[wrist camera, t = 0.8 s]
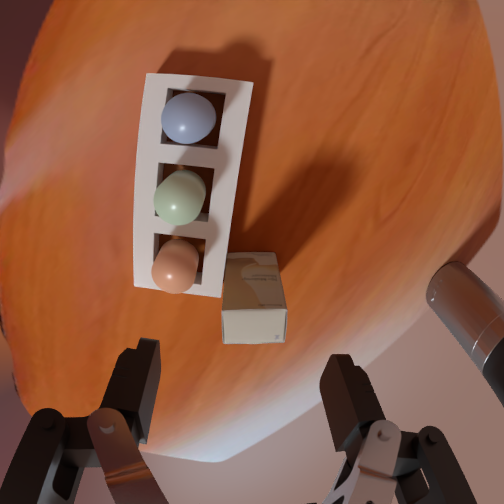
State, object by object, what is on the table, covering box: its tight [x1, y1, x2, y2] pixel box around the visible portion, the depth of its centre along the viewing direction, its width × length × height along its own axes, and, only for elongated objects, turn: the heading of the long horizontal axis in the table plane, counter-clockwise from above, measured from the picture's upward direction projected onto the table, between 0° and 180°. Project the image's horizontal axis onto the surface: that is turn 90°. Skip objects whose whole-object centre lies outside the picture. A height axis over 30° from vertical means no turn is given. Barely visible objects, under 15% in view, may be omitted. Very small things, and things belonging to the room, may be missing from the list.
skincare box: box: [222, 252, 287, 344], centre depth 33 cm, size 6×4×12 cm
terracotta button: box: [151, 239, 199, 294], centre depth 33 cm, size 5×5×4 cm
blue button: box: [161, 93, 216, 144], centre depth 27 cm, size 5×5×4 cm
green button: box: [153, 170, 206, 225], centre depth 30 cm, size 5×5×4 cm
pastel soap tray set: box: [133, 73, 253, 298], centre depth 33 cm, size 11×25×3 cm, turn 171°
